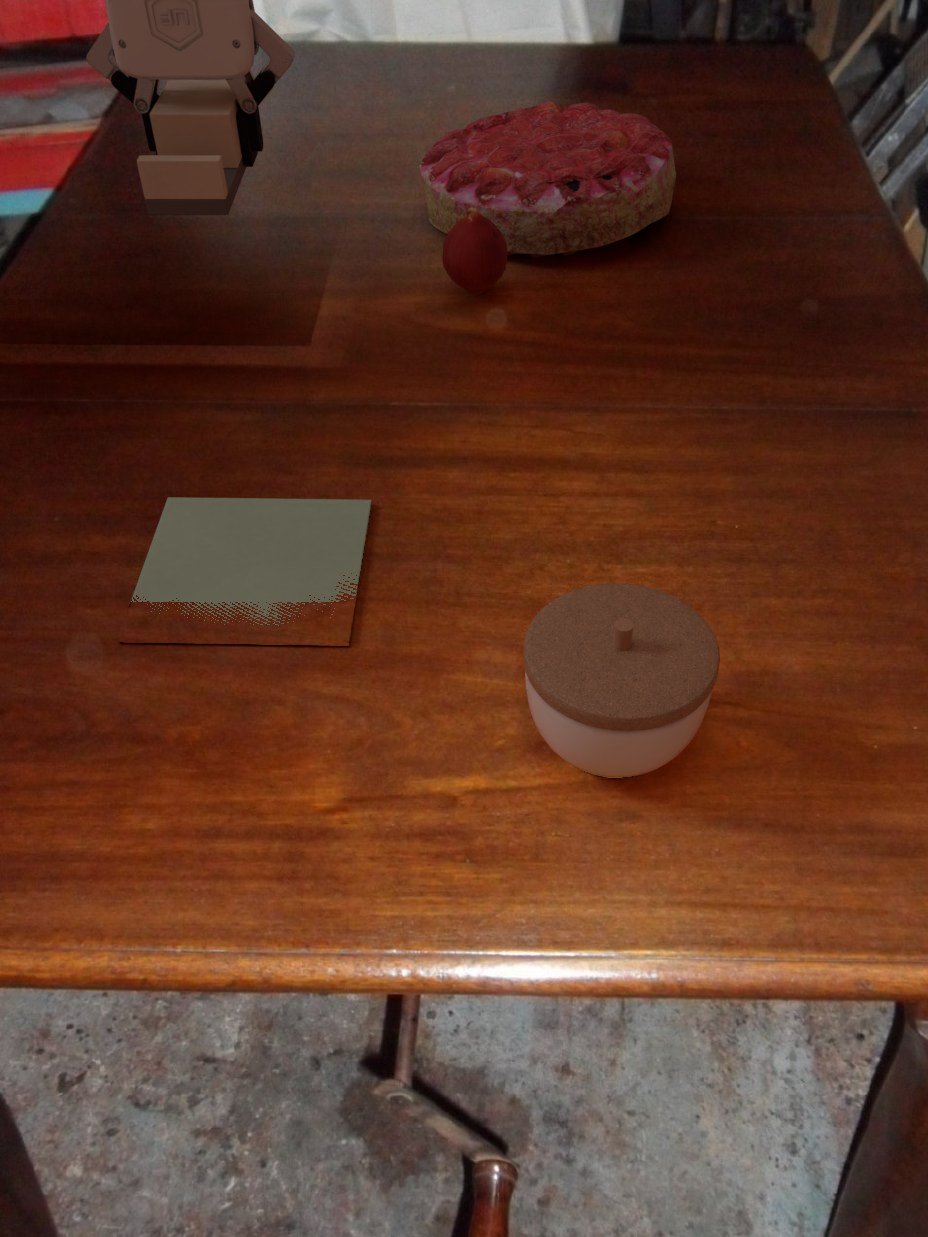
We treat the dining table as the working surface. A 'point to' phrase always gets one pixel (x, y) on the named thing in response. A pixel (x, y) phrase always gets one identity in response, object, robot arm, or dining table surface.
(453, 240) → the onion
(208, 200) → the block with front tab
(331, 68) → the dining table surface
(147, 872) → the dining table surface
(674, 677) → the trinket box
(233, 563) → the mat
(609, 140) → the cake
